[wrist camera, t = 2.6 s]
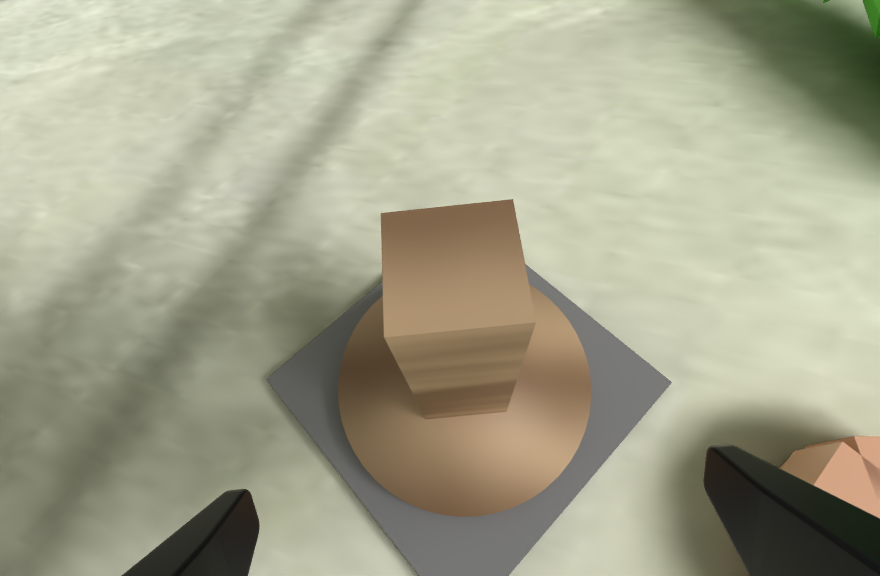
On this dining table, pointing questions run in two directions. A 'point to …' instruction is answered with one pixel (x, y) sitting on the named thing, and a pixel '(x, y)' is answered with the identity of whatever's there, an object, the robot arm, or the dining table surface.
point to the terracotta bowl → (842, 469)
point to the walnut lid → (462, 367)
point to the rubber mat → (489, 536)
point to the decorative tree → (872, 14)
